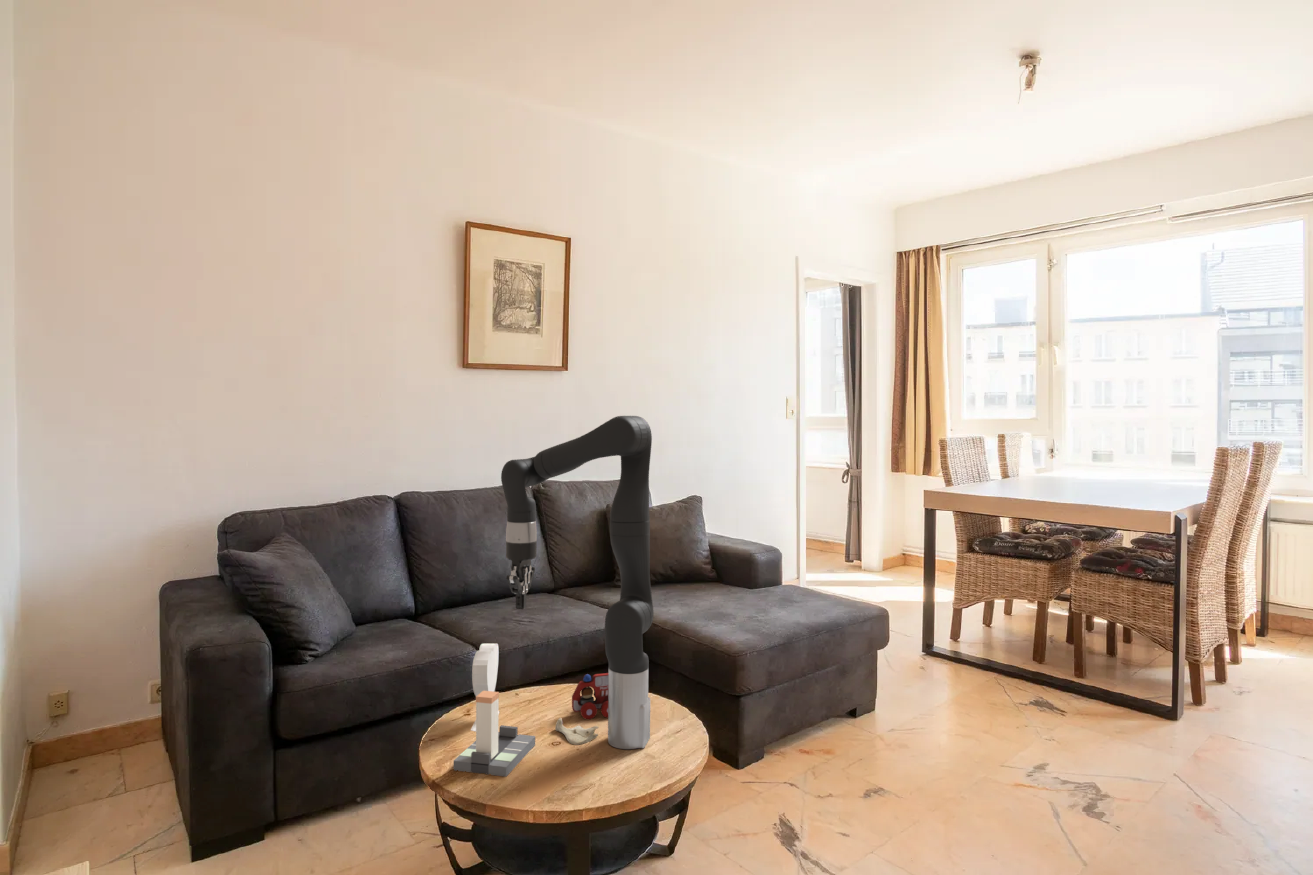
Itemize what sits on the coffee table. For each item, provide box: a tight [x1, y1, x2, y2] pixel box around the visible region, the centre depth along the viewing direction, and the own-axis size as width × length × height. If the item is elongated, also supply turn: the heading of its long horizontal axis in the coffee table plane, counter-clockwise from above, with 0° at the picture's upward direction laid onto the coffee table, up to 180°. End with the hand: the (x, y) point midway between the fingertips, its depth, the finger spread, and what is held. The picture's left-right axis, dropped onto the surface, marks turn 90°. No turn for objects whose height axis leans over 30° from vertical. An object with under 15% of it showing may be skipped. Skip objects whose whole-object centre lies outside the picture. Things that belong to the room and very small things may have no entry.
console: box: [452, 724, 536, 777], centre depth 169 cm, size 12×16×4 cm
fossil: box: [554, 717, 599, 746], centre depth 182 cm, size 7×11×4 cm, turn 36°
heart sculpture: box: [470, 643, 500, 732], centre depth 189 cm, size 16×5×18 cm, turn 2°
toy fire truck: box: [571, 672, 609, 720], centre depth 194 cm, size 7×12×10 cm, turn 104°
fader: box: [475, 691, 500, 759], centre depth 165 cm, size 4×4×13 cm
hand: (520, 608), depth 192 cm, fingers closed
